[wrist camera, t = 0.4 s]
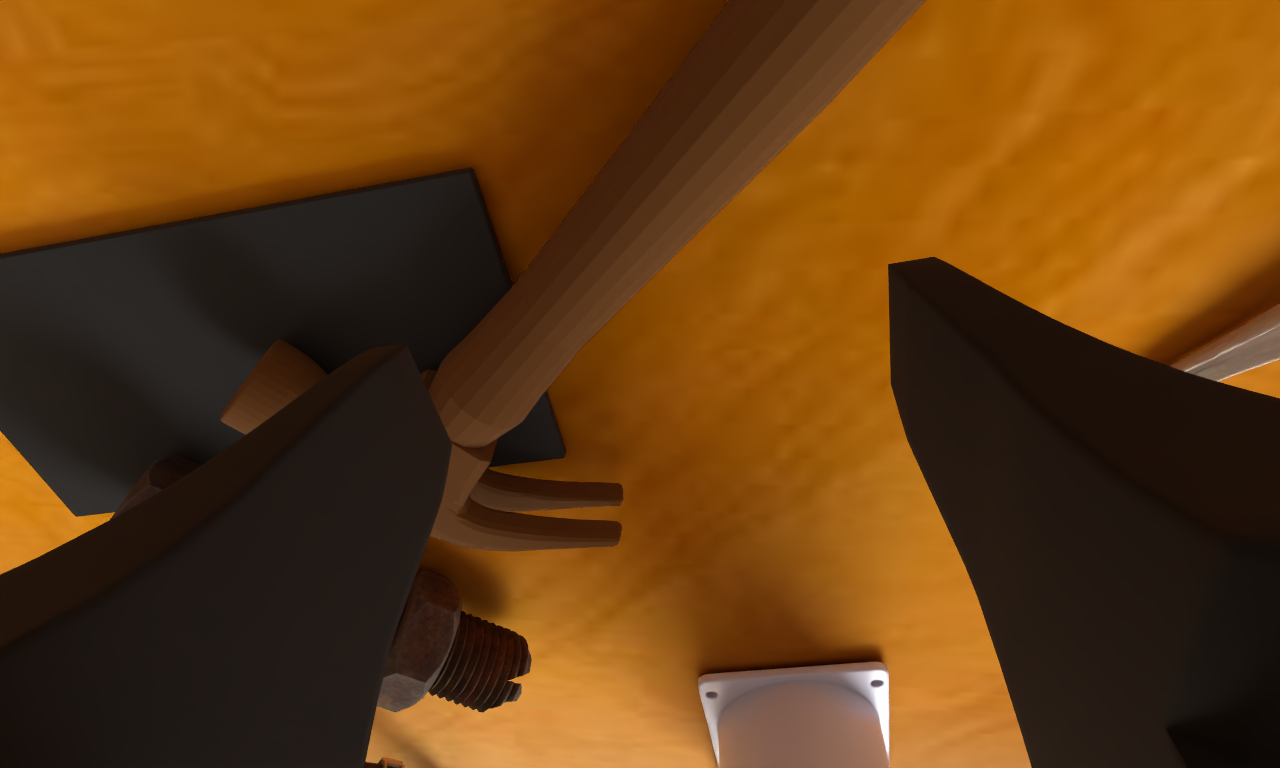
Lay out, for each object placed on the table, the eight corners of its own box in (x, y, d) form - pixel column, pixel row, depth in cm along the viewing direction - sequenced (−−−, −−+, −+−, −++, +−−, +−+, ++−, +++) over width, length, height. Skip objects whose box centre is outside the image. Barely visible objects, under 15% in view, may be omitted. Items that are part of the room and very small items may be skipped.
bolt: (518, 604, 33) (166, 460, 28) (566, 606, 29) (163, 436, 23) (465, 743, 31) (68, 615, 25) (510, 767, 26) (44, 620, 21)
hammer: (1202, -966, 10) (250, 377, 23) (1387, -1242, 8) (199, 441, 21) (1481, -226, 14) (545, 548, 28) (1658, -242, 12) (534, 619, 25)
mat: (566, 450, 25) (565, 458, 25) (82, 509, 28) (75, 517, 28) (473, 166, 20) (470, 171, 19) (-120, 275, 23) (-131, 281, 22)
